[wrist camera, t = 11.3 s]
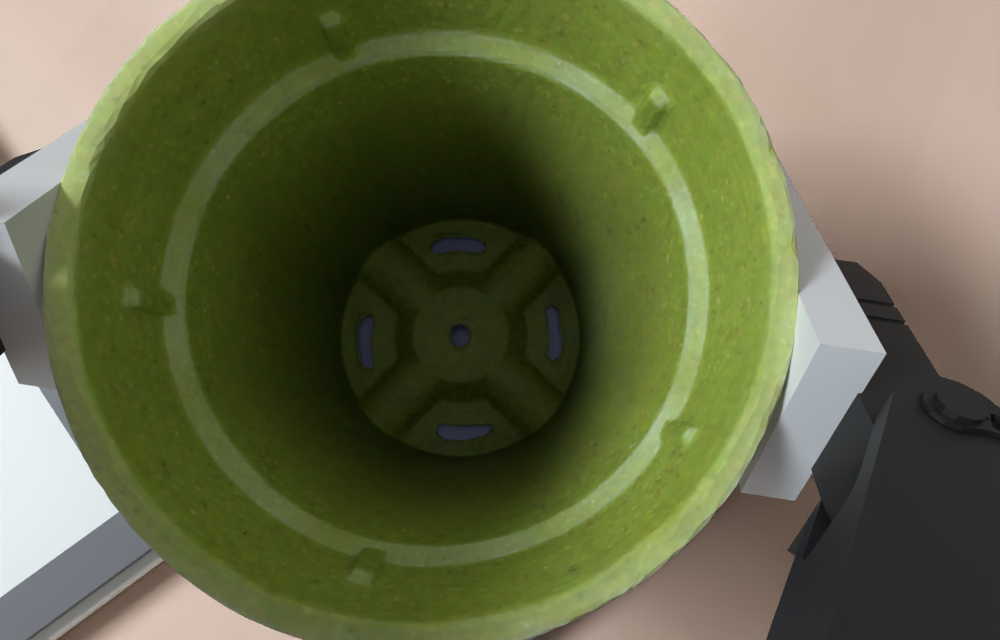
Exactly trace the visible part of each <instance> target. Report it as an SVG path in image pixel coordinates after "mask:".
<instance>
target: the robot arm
mask: <svg viewBox="0 0 1000 640" xmlns="http://www.w3.org/2000/svg"><path fill="white" fill-rule="evenodd" d="M87 121H88V120H86V121H85V122H83V123H82V124H80V125H79V126H77V127H75V128H74V129H72V130H71V131H69V132H67V133H66V134H64V135H63V136H61V137H60V138H58V139H56V140H55V141H53V142H52V143H50V144H48V145H47V146H45V147H44V148H42V149H39V150H36V151H33V152H30V153H27V154H24V155H21V156H18V157H15V158H13V159H12V160H10V161H9V162H7V163H5V164H4V165H2V166H1V167H0V356H1V355H2V354H3V353H5V355H6V357H7V360H8V362H9V364H10V366H11V368H12V370H13V373H14V375H15V377H16V379H17V381H18V383H19V384H23V385H30V386H36V387H43V388H50V389H56V390H57V388H56V385H55V381H54V377H53V374H52V371H51V368H50V362H49V356H48V350H47V344H46V338H45V331H44V323H43V273H44V260H45V248H46V238H47V230H48V225H49V221H50V217H51V213H52V210H53V207H54V204H55V201H56V197H57V194H58V188H59V186H60V183H61V179H62V177H63V175H64V172H65V170H66V167H67V165H68V162H69V159H70V156H71V153H72V151H73V149H74V147H75V144H76V142H77V140H78V137H79V135H80V134H81V132H82V130H83V128H84V126H85V124H86V123H87ZM776 156H777V155H776ZM777 158H778V157H777ZM778 161H779V163H780V166H781V169H782V171H783V174H784V176H785V179H786V184H787V188H788V192H789V197H790V201H791V205H792V210H793V214H794V220H795V228H796V243H797V254H798V262H799V283H800V293H799V294H798V306H797V322H796V329H795V338H794V345H793V352H792V356H791V360H790V364H789V368H788V371H787V375H786V379H785V382H784V385H783V388H782V391H781V394H780V397H779V400H778V402H777V405H776V407H775V410H774V412H773V415H772V418H771V420H770V423H769V425H768V427H767V429H766V432H765V434H764V436H763V438H762V440H761V442H760V444H759V447H758V449H757V451H756V453H755V455H754V457H753V459H752V461H751V462H750V464H749V465H748V467H747V469H746V470H745V472H744V474H743V475H742V477H741V479H740V481H739V482H738V483H739V487H740V492H741V493H746V494H753V495H759V496H766V497H773V498H779V499H786V500H793V501H795V500H796V498H797V497H798V495H799V494H800V492H801V490H802V489H803V487H804V486H805V484H806V482H807V481H808V479H809V477H810V476H811V474H812V473H813V476H814V479H815V482H816V485H817V487H818V490H819V493H820V496H821V500H820V502H819V503H818V505H817V506H816V508H815V509H814V511H813V512H812V514H811V515H810V517H809V518H808V520H807V522H806V523H805V525H804V526H803V528H802V529H801V531H800V532H799V534H798V535H797V537H796V538H795V540H794V541H793V543H792V544H791V546H790V547H789V549H788V550H787V551H789V552H791V553H792V554H794V555H796V556H795V559H794V562H793V565H792V567H791V570H790V573H789V576H788V579H787V582H786V585H785V588H784V590H783V593H782V596H781V599H780V602H779V605H778V608H777V610H776V613H775V616H774V619H773V622H772V625H771V628H770V631H769V633H768V636H767V639H766V640H1000V408H999V407H998V406H996V405H995V404H994V403H993V402H991V401H990V400H989V399H987V398H986V397H985V396H983V395H982V394H981V393H979V392H977V391H975V390H973V389H971V388H969V387H967V386H965V385H963V384H961V383H959V382H956V381H953V380H950V379H947V378H943V377H940V376H939V375H938V373H937V372H936V370H935V368H934V367H933V365H932V364H931V362H930V360H929V359H928V357H927V356H926V354H925V352H924V351H923V349H922V348H921V346H920V344H919V343H918V341H917V340H916V338H915V336H914V335H913V333H912V332H911V330H910V328H909V327H908V325H904V322H905V320H904V319H903V317H902V316H901V314H900V312H899V311H898V309H897V308H894V307H893V305H894V303H893V301H892V300H891V298H890V296H889V295H888V293H887V292H886V290H885V288H884V287H883V285H882V284H881V282H879V281H878V280H877V279H876V278H875V277H873V276H872V275H871V274H870V273H869V272H867V271H866V270H865V269H864V268H863V267H861V266H860V265H859V264H858V263H855V262H848V261H842V260H835V259H834V258H833V256H832V254H831V252H830V251H829V249H828V247H827V245H826V243H825V241H824V240H823V238H822V236H821V234H820V232H819V231H818V229H817V227H816V225H815V223H814V222H813V220H812V218H811V216H810V214H809V213H808V211H807V209H806V207H805V205H804V204H803V202H802V200H801V198H800V196H799V195H798V193H797V191H796V189H795V187H794V186H793V184H792V182H791V180H790V178H789V176H788V175H787V173H786V171H785V169H784V167H783V166H782V164H781V162H780V160H779V158H778Z"/></svg>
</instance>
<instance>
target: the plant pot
mask: <svg viewBox="0 0 1000 640" xmlns="http://www.w3.org/2000/svg"><path fill="white" fill-rule="evenodd" d="M448 237H457V238H460V237H469V238H473V239H476V240H479V241H481V242H482V243H483V244H484V245H485V250H483V251H482V252H481V253H479V252H466V251H449V252H445V253H442V254H436V253H434V252H432V250H431V246H432V245H433V244H434V243H435V242H437V241H438V240H440V239H443V238H448ZM799 293H800V283H799V262H798V254H797V243H796V228H795V220H794V214H793V210H792V205H791V201H790V197H789V192H788V188H787V184H786V179H785V176H784V174H783V171H782V169H781V166H780V163H779V161H778V158H777V156H776V153H775V151H774V149H773V146H772V141H771V139H770V136H769V134H768V132H767V129H766V127H765V124H764V122H763V120H762V118H761V116H760V114H759V112H758V110H757V108H756V106H755V104H754V103H753V101H752V99H751V98H750V96H749V94H748V93H747V91H746V89H745V88H744V86H743V84H742V82H741V81H740V79H739V77H738V76H737V74H736V73H735V72H734V71H733V69H732V68H731V67H730V66H729V65H728V63H727V62H726V61H725V60H724V59H723V58H722V57H721V56H720V55H719V53H718V52H717V51H716V50H715V49H714V48H713V47H712V46H711V44H710V43H709V42H708V40H707V39H706V38H705V37H704V36H703V35H702V34H701V33H700V32H699V31H698V30H697V29H696V28H695V27H694V26H693V25H692V23H691V22H690V21H689V20H688V19H687V18H686V17H685V16H684V15H683V14H682V13H681V12H680V11H679V10H678V9H677V8H675V7H674V6H673V5H672V4H671V3H669V2H668V1H667V0H192V1H190V2H189V3H188V4H187V5H186V6H184V7H183V8H182V9H181V10H179V11H178V12H176V13H175V14H174V15H172V16H171V17H169V18H168V19H167V20H166V21H164V22H163V23H162V24H161V25H160V26H158V27H157V28H156V29H155V30H154V31H153V32H151V33H150V34H149V35H148V36H147V37H146V39H145V40H144V42H143V43H142V44H141V46H140V47H139V48H138V49H137V50H136V51H135V52H134V53H133V54H132V56H131V57H130V58H129V59H128V60H127V61H126V62H125V64H124V65H123V66H122V67H121V69H120V70H119V71H118V73H117V74H116V75H115V77H114V78H113V80H112V81H111V83H110V84H109V86H108V87H107V88H106V89H105V91H104V92H103V94H102V95H101V97H100V99H99V100H98V102H97V104H96V105H95V107H94V109H93V111H92V113H91V115H90V117H89V119H88V121H87V123H86V124H85V126H84V128H83V130H82V132H81V134H80V135H79V137H78V140H77V142H76V144H75V147H74V149H73V151H72V153H71V156H70V159H69V162H68V165H67V167H66V170H65V172H64V175H63V177H62V179H61V183H60V186H59V188H58V194H57V197H56V201H55V204H54V207H53V210H52V213H51V217H50V221H49V225H48V230H47V238H46V248H45V260H44V273H43V323H44V331H45V338H46V344H47V350H48V356H49V362H50V368H51V371H52V374H53V377H54V381H55V385H56V388H57V392H58V395H59V398H60V401H61V404H62V406H63V409H64V412H65V415H66V418H67V421H68V423H69V426H70V428H71V431H72V433H73V436H74V438H75V440H76V442H77V444H78V446H79V448H80V451H81V454H82V456H83V458H84V460H85V461H86V463H87V464H88V466H89V468H90V470H91V472H92V474H93V476H94V478H95V479H96V481H97V482H98V483H99V484H100V486H101V487H102V488H103V490H104V491H105V493H106V495H107V497H108V498H109V500H110V501H111V503H112V504H113V505H114V506H115V508H116V509H117V510H118V511H119V513H120V514H121V515H122V516H123V518H124V519H125V520H126V522H127V523H128V524H129V526H130V527H131V528H132V530H133V531H134V532H135V533H136V534H138V535H139V536H140V537H141V538H142V539H143V540H144V541H145V543H146V544H147V545H148V546H149V547H151V548H152V549H153V550H154V551H155V553H156V554H157V555H158V556H159V557H160V558H161V559H163V560H164V561H165V562H166V563H167V564H168V565H169V566H170V567H172V568H173V569H174V570H175V571H177V572H178V573H179V574H181V575H182V576H183V577H184V578H186V579H187V580H188V581H189V582H191V583H192V584H193V585H194V586H196V587H197V588H199V589H200V590H201V591H203V592H204V593H206V594H207V595H209V596H210V597H212V598H213V599H215V600H216V601H218V602H219V603H221V604H223V605H224V606H226V607H227V608H229V609H231V610H233V611H235V612H237V613H238V614H240V615H242V616H244V617H246V618H248V619H250V620H253V621H255V622H257V623H260V624H262V625H264V626H267V627H269V628H271V629H274V630H276V631H279V632H282V633H285V634H287V635H290V636H293V637H296V638H300V639H303V640H525V639H528V638H532V637H535V636H538V635H541V634H544V633H547V632H549V631H551V630H554V629H556V628H558V627H561V626H564V625H566V624H568V623H570V622H572V621H574V620H576V619H578V618H580V617H582V616H584V615H586V614H588V613H590V612H592V611H594V610H597V609H599V608H601V607H602V606H604V605H605V604H607V603H609V602H610V601H612V600H614V599H615V598H617V597H619V596H621V595H623V594H624V593H626V592H628V591H630V590H631V589H633V588H634V587H636V586H637V585H639V584H640V583H642V582H643V581H645V580H646V579H647V578H648V577H650V576H651V575H652V574H654V573H655V572H656V571H657V570H659V569H660V568H661V567H662V566H663V565H664V564H665V563H667V562H668V561H669V560H671V559H672V558H673V557H674V556H676V555H677V554H678V553H679V552H680V551H681V550H682V549H683V548H684V547H685V546H686V545H687V544H688V543H689V542H690V541H691V540H692V539H693V538H694V537H695V536H696V535H697V534H698V533H699V532H700V531H701V530H702V528H703V527H704V526H705V525H706V524H707V523H708V522H709V521H710V519H711V518H712V517H713V516H714V514H715V513H716V512H717V510H718V509H719V508H720V507H721V506H722V504H723V503H724V502H725V501H726V499H727V498H728V497H729V495H730V494H731V492H732V491H733V490H734V488H735V487H736V486H737V484H738V482H739V481H740V479H741V477H742V475H743V474H744V472H745V470H746V469H747V467H748V465H749V464H750V462H751V461H752V459H753V457H754V455H755V453H756V451H757V449H758V447H759V444H760V442H761V440H762V438H763V436H764V434H765V432H766V429H767V427H768V425H769V423H770V420H771V418H772V415H773V412H774V410H775V407H776V405H777V402H778V400H779V397H780V394H781V391H782V388H783V385H784V382H785V379H786V375H787V371H788V368H789V364H790V360H791V356H792V352H793V345H794V338H795V329H796V322H797V306H798V294H799ZM550 305H552V307H554V308H556V309H557V310H558V312H559V322H560V331H561V333H562V336H563V346H562V350H561V354H560V357H559V358H557V359H555V360H551V359H550V358H549V357H548V348H549V346H548V339H549V331H548V318H547V315H546V309H547V308H548V307H549V306H550ZM369 315H371V316H372V317H373V330H372V337H371V346H372V352H371V353H372V356H373V367H372V368H371V369H369V368H367V367H366V366H365V365H363V364H362V363H361V359H360V354H359V341H358V330H359V324H360V322H361V321H362V320H363V318H364V317H365V316H369ZM457 325H463V326H465V327H466V328H467V329H468V330H469V341H468V342H467V343H466V344H465V345H464V346H456V345H455V344H453V343H452V341H451V339H450V333H451V331H452V329H453V327H454V326H457ZM440 424H447V425H459V426H469V425H471V426H473V425H480V426H483V425H485V424H490V425H491V426H492V429H490V430H489V432H488V433H487V434H485V435H483V436H479V437H476V438H473V439H469V440H461V441H460V440H446V439H444V438H443V437H441V436H439V435H438V434H437V432H436V430H437V428H436V427H437V426H438V425H440Z"/></svg>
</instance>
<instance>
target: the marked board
mask: <svg viewBox="0 0 1000 640" xmlns="http://www.w3.org/2000/svg"><path fill="white" fill-rule="evenodd" d="M163 561H164V560H163V559H161V558H160V557H159V556H158V555H157V554H156V553H155V551H154V550H153V549H152V548H151V547H149V546H148V545H147V544H146V543H145V541H144V540H143V539H142V538H141V537H140V536H139V535H138V534H136V533H135V532H134V531H133V530H132V528H131V527H130V526H129V524H128V523H127V522H126V520H125V519H124V518H123V516H122V515H121V514H120V513H119V511H118V510H117V509H116V508H115V506H114V505H113V504H112V503H111V501H110V500H109V498H108V497H107V495H106V493H105V491H104V490H103V488H102V487H101V486H100V484H99V483H98V482H97V481H96V479H95V478H94V476H93V474H92V472H91V470H90V468H89V466H88V464H87V463H86V461H85V460H84V458H83V456H82V454H81V451H80V448H79V446H78V444H77V442H76V440H75V438H74V436H73V433H72V431H71V428H70V426H69V423H68V421H67V418H66V415H65V412H64V409H63V406H62V404H61V401H60V398H59V395H58V392H57V390H56V389H50V388H43V387H36V386H30V385H23V384H19V383H18V381H17V379H16V377H15V375H14V373H13V370H12V368H11V366H10V364H9V362H8V360H7V357H6V355H5V353H3V354H2V355H1V356H0V640H56V639H58V638H59V637H60V636H62V635H63V634H65V633H66V632H67V631H69V630H70V629H71V628H73V627H74V626H76V625H77V624H78V623H80V622H81V621H82V620H84V619H85V618H86V617H88V616H89V615H91V614H92V613H93V612H95V611H96V610H97V609H99V608H100V607H101V606H103V605H104V604H106V603H107V602H108V601H110V600H111V599H112V598H114V597H115V596H116V595H118V594H119V593H121V592H122V591H123V590H125V589H126V588H127V587H129V586H130V585H131V584H133V583H134V582H136V581H137V580H138V579H140V578H141V577H142V576H144V575H145V574H146V573H148V572H149V571H151V570H152V569H153V568H155V567H156V566H157V565H159V564H160V563H161V562H163Z"/></svg>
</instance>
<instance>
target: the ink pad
mask: <svg viewBox="0 0 1000 640" xmlns="http://www.w3.org/2000/svg"><path fill="white" fill-rule="evenodd" d="M431 250H432V252H434V253H436V254H442V253H445V252H449V251H466V252H479V253H481V252H482V251H483V250H485V245H484V244H483V243H482V242H481V241H479V240H476V239H473V238H469V237H460V238H457V237H448V238H443V239H440V240H438V241H437V242H435V243H434V244H433V245H432V246H431ZM546 315H547V318H548V331H549V339H548V346H549V348H548V357H549V358H550V359H551V360H555V359H557V358H559V357H560V354H561V350H562V346H563V336H562V333H561V331H560V322H559V312H558V310H557V309H556V308H554V307H552V305H550V306H549V307H548V308H547V309H546ZM372 330H373V317H372V316H371V315H369V316H365V317H364V318H363V320H362V321H361V322H360V324H359V330H358V341H359V354H360V359H361V363H362V364H363V365H365V366H366V367H367V368H369V369H371V368H372V367H373V356H372V353H371V352H372V346H371V337H372ZM450 339H451V341H452V343H453V344H455V345H456V346H464V345H465V344H466V343H467V342H468V341H469V330H468V329H467V328H466V327H465V326H463V325H457V326H454V327H453V329H452V331H451V333H450ZM436 428H437V430H436V432H437V434H438V435H439V436H441V437H443V438H444V439H446V440H460V441H461V440H469V439H473V438H476V437H479V436H483V435H485V434H487V433H488V432H489V430H490V429H492V426H491V425H490V424H485V425H483V426H480V425H473V426H471V425H469V426H459V425H447V424H440V425H438V426H437V427H436ZM535 637H536V636H535ZM533 638H534V637H532V638H528V639H525V640H532V639H533Z"/></svg>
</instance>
